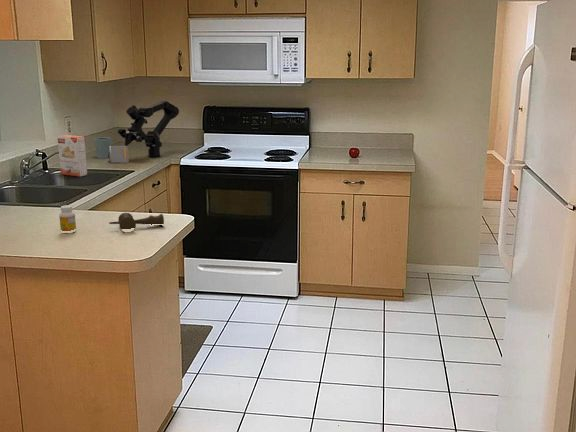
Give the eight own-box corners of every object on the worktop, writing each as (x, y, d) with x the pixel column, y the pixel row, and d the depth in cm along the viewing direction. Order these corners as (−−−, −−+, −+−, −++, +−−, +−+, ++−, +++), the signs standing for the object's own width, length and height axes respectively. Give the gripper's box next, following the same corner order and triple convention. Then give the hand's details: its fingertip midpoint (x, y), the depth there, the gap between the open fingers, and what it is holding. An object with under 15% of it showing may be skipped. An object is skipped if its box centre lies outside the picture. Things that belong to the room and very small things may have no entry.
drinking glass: (99, 159, 386) (97, 139, 383) (92, 157, 393) (91, 138, 390) (115, 157, 392) (113, 138, 389) (108, 155, 400) (106, 136, 397)
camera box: (107, 162, 374) (106, 149, 372) (110, 160, 381) (109, 148, 379) (121, 162, 374) (120, 149, 372) (124, 160, 381) (123, 148, 379)
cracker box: (60, 174, 338) (56, 135, 333) (68, 172, 343) (65, 134, 338) (79, 177, 332) (76, 137, 326) (87, 175, 337) (84, 136, 331)
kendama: (165, 231, 235) (110, 234, 229) (162, 225, 244) (108, 228, 238) (165, 215, 234) (109, 218, 228) (161, 210, 243) (107, 212, 237)
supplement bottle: (57, 232, 231) (55, 206, 228) (70, 229, 235) (68, 204, 233) (66, 235, 228) (64, 209, 225) (79, 231, 232) (77, 206, 229)
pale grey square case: (110, 162, 372) (109, 146, 370) (110, 162, 374) (109, 146, 371) (128, 162, 372) (127, 146, 370) (128, 162, 374) (127, 146, 371)
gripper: (156, 134, 381) (144, 154, 375) (133, 132, 390) (121, 152, 384) (146, 122, 373) (134, 143, 366) (123, 120, 382) (111, 141, 375)
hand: (125, 145), depth 373 cm, fingers closed
